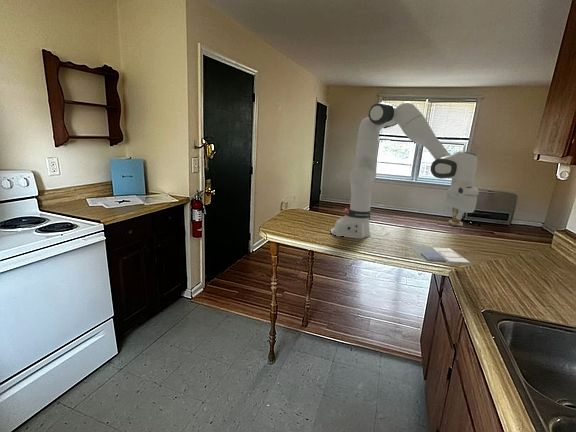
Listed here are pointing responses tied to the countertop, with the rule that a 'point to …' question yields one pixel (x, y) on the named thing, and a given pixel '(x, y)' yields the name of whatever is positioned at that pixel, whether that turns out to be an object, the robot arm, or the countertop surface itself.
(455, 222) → the stamp
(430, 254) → the stamping board
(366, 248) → the countertop surface
